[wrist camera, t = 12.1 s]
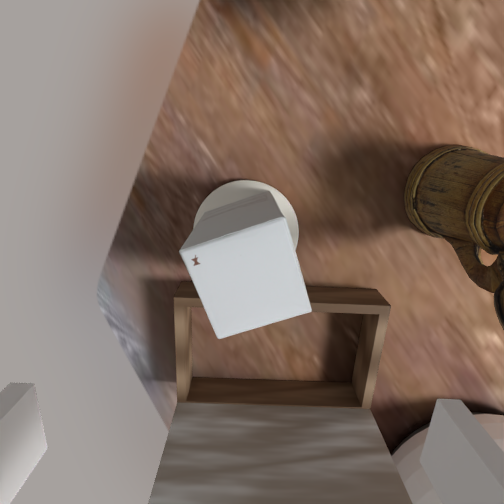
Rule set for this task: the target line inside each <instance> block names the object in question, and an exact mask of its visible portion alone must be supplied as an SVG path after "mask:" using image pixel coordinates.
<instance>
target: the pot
mask: <svg viewBox="0 0 504 504" xmlns="http://www.w3.org/2000/svg"><path fill="white" fill-rule="evenodd" d="M472 414H473V416H474V417H475V418H476V419H477V420H478V422H479V423H480V424H481V425H482V427H483V428H484V429H485V430H486V431H487V433H488V434H489V435H490V436H491V438H492V439H493V440H494V441H495V442H496V444H497V445H498V446H499V447H500V448H501V450H502V451H503V452H504V416H503V415H496V414H490V413H478V412H475V413H472ZM429 426H430V423H428V424H426V425H424V426H423V427H421V428H419V429H417V430H415V431H414V432H413V433H411V434H410V435H409V436H408V437H406V438H405V439H404V440H403V441H402V442H401V443H400V444H399V445H398V446H397V447H396V449H395V450H394V451H393V453H392V454H391V457H392V459H393V461H394V463H395V466H396V468H397V470H398V472H399V475H400V477H401V479H402V481H403V483H404V486H405V488H406V490H407V492H408V495H409V497H410V499H411V501H412V504H442V502H441V500H440V498H439V497H438V495H437V493H436V491H435V489H434V487H433V485H432V483H431V482H430V480H429V478H428V476H427V474H426V472H425V470H424V468H423V466H422V465H421V463H420V457H421V454H422V450H423V447H424V443H425V440H426V436H427V433H428V429H429Z"/></svg>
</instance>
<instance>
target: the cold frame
mask: <svg viewBox="0 0 504 504" xmlns="http://www.w3.org/2000/svg"><path fill="white" fill-rule="evenodd" d="M305 287H306V291H307V294H308V298H309V301H310V305H311V309H312V311H311V312H331V313H357V314H363V319H362V324H361V330H360V336H359V342H358V347H357V353H356V359H355V365H354V370H353V376H352V382H351V383H341V382H314V381H286V380H258V379H230V378H202V377H192V324H191V307H203V308H204V306H203V304H202V301H201V299H200V297H199V294H198V292H197V290H196V288H195V286H194V283H193V282H185V281H182V282H181V284H180V286H179V288H178V290H177V292H176V294H175V296H174V323H175V350H176V377H177V406H176V409H175V413H174V416H173V420H172V423H171V427H170V430H169V433H168V437H167V441H166V444H165V448H164V451H163V454H162V458H161V461H160V465H159V468H158V472H157V475H156V478H155V482H154V485H153V489H152V492H151V496H150V499H149V503H148V504H412V501H411V499H410V497H409V495H408V492H407V490H406V488H405V486H404V483H403V481H402V479H401V477H400V475H399V472H398V470H397V468H396V466H395V463H394V461H393V459H392V457H391V455H390V452H389V450H388V448H387V446H386V443H385V441H384V439H383V437H382V435H381V432H380V430H379V428H378V426H377V423H376V421H375V419H374V417H373V415H372V412H371V410H370V407H371V402H372V397H373V393H374V388H375V383H376V378H377V373H378V368H379V363H380V358H381V353H382V348H383V343H384V338H385V333H386V328H387V324H388V319H389V314H390V309H391V305H390V304H389V303H388V302H387V301H386V300H385V298H384V297H383V296H382V295H381V294H380V293H379V292H378V290H377V289H358V288H334V287H309V286H305Z"/></svg>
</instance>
